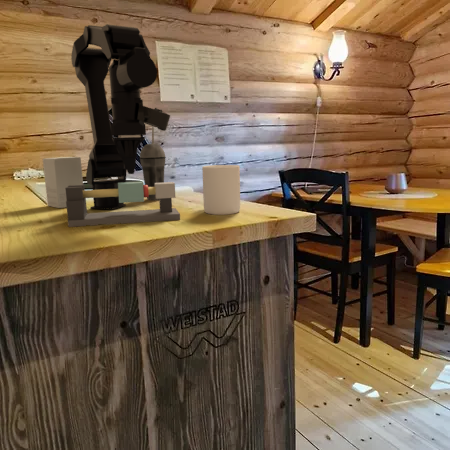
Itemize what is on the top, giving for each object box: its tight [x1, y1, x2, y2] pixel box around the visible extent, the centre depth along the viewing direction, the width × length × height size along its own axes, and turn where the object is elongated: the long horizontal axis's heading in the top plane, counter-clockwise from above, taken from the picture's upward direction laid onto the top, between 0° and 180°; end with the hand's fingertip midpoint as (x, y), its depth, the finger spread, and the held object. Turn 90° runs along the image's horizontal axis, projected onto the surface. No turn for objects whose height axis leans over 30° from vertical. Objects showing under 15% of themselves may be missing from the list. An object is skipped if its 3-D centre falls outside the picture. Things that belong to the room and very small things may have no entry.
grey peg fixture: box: [65, 181, 181, 228], centre depth 88 cm, size 22×8×8 cm, turn 103°
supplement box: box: [42, 156, 84, 209], centre depth 110 cm, size 7×7×13 cm
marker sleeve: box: [118, 181, 145, 204], centre depth 88 cm, size 5×4×4 cm
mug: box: [201, 164, 241, 216], centre depth 96 cm, size 12×8×10 cm
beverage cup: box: [139, 126, 167, 201], centre depth 117 cm, size 7×7×20 cm
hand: (131, 172), depth 87 cm, fingers open, 9 cm apart
